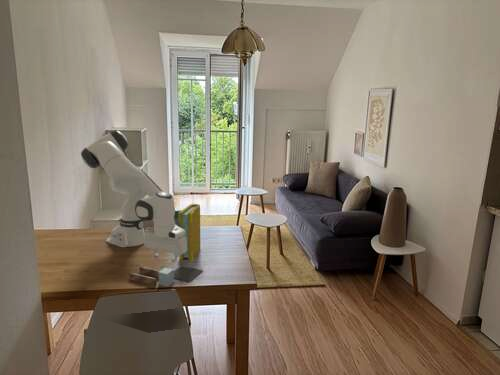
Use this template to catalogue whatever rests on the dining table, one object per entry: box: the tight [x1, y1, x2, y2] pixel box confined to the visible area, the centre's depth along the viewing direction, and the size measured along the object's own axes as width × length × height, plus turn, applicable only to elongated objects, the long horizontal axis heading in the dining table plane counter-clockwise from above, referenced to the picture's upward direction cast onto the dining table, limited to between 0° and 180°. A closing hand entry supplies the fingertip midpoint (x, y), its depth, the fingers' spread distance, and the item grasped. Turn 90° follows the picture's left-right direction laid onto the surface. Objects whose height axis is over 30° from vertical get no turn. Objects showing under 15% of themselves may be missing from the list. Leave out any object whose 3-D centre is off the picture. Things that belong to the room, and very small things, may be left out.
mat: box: [174, 265, 204, 283], centre depth 175 cm, size 12×12×1 cm
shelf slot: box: [128, 265, 161, 287], centre depth 169 cm, size 14×8×3 cm, turn 68°
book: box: [178, 203, 201, 261], centre depth 195 cm, size 17×7×25 cm, turn 168°
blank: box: [158, 267, 175, 287], centre depth 165 cm, size 4×5×6 cm
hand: (165, 259), depth 163 cm, fingers open, 8 cm apart
